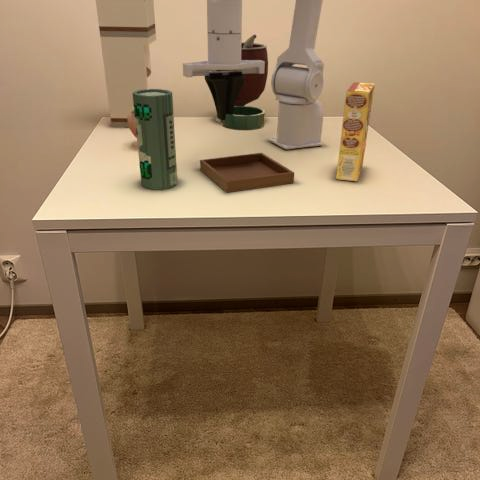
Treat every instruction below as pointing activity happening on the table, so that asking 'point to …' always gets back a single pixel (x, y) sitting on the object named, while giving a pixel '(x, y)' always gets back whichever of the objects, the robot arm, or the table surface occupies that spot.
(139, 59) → the striped cream pillar
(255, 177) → the tray
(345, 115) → the candy box
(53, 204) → the table surface
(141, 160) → the can
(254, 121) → the green round bowl
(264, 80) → the mate gourd
